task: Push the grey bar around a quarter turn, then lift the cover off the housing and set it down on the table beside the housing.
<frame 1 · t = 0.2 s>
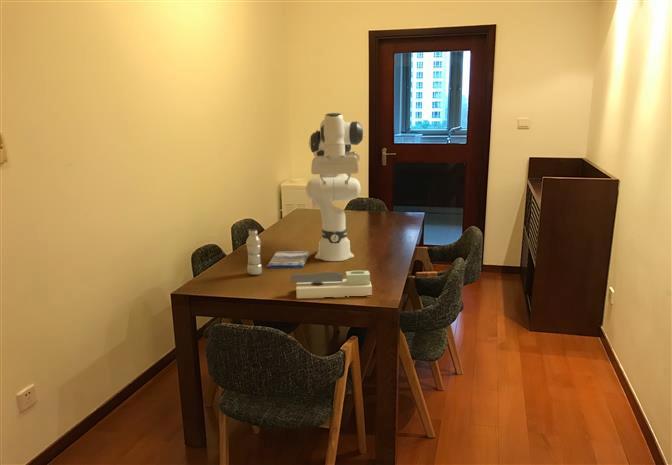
hand: (335, 184, 228), 39 cm above the table, tool pointing down, fingers open, 8 cm apart
housing: (333, 293, 212), on the table
dish towel: (288, 262, 256), on the table
cover: (357, 282, 211), point 4 cm above the table, touching housing
grey bar: (317, 278, 210), point 6 cm above the table, hinge at 0.0°
plastic bottle: (255, 274, 236), on the table
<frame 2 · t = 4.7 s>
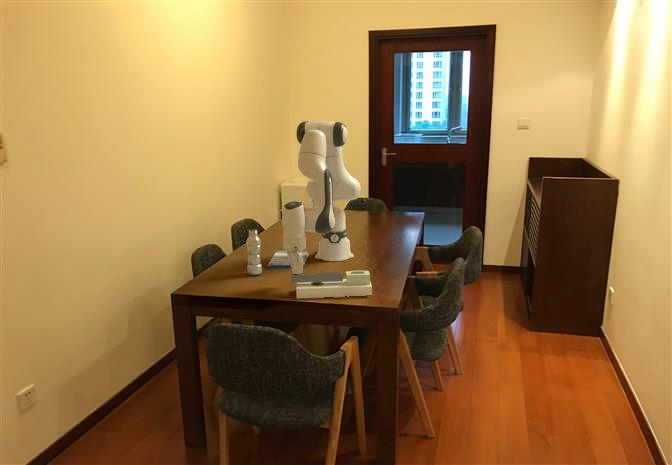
hand: (295, 277, 212), 6 cm above the table, tool pointing down, fingers closed
grey bar: (317, 278, 210), point 6 cm above the table, hinge at 0.0°, touching gripper
everything else where it was.
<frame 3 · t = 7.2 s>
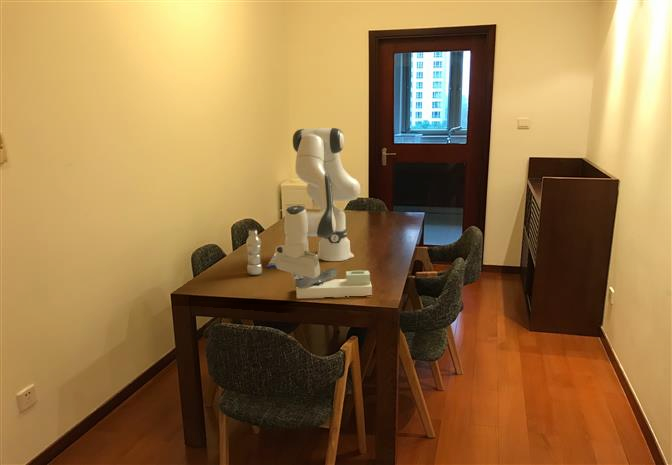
hand: (298, 284, 205), 6 cm above the table, tool pointing down, fingers closed, pressing on grey bar
grey bar: (317, 278, 210), point 6 cm above the table, hinge at 41.7°, touching gripper
everything else where it was.
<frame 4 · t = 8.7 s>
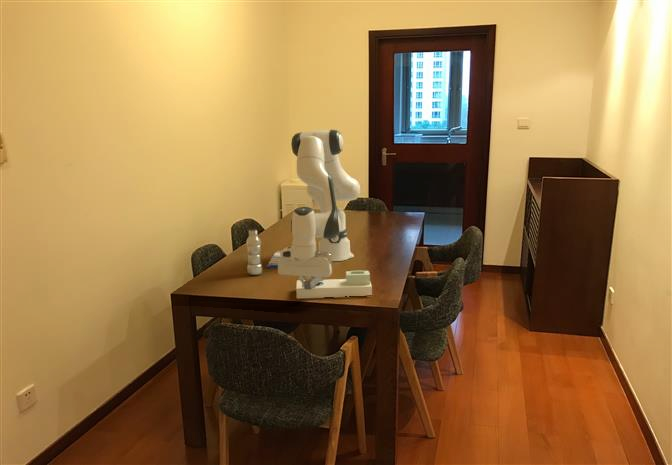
hand: (305, 286, 203), 6 cm above the table, tool pointing down, fingers closed, pressing on grey bar
grey bar: (317, 278, 210), point 6 cm above the table, hinge at 68.1°, touching gripper
everything else where it was.
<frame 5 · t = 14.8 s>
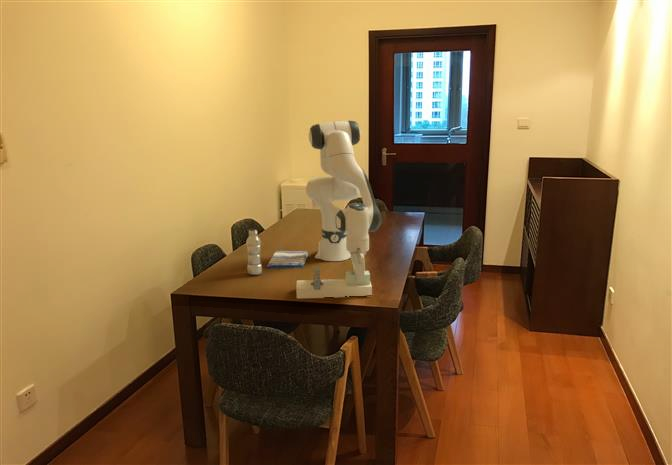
hand: (357, 279, 211), 5 cm above the table, tool pointing down, fingers closed on cover, 5 cm apart
cover: (357, 282, 211), point 4 cm above the table, touching gripper, housing
grey bar: (317, 278, 210), point 6 cm above the table, hinge at 89.4°
everything else where it was.
when the fingers open (3 cm above the table, at t = 21.6 s): cover drops 2 cm, on the table.
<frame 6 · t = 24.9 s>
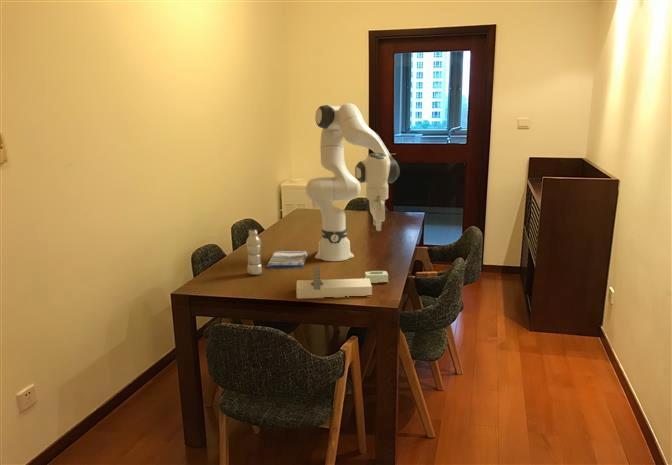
hand: (377, 227, 219), 23 cm above the table, tool pointing down, fingers open, 8 cm apart
cover: (376, 282, 224), on the table
everything else where it was.
at the end: grey bar at +89° (first picture: +0°); cover inside the target area (0.3 cm from its centre), on the table; the gripper is holding nothing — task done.
